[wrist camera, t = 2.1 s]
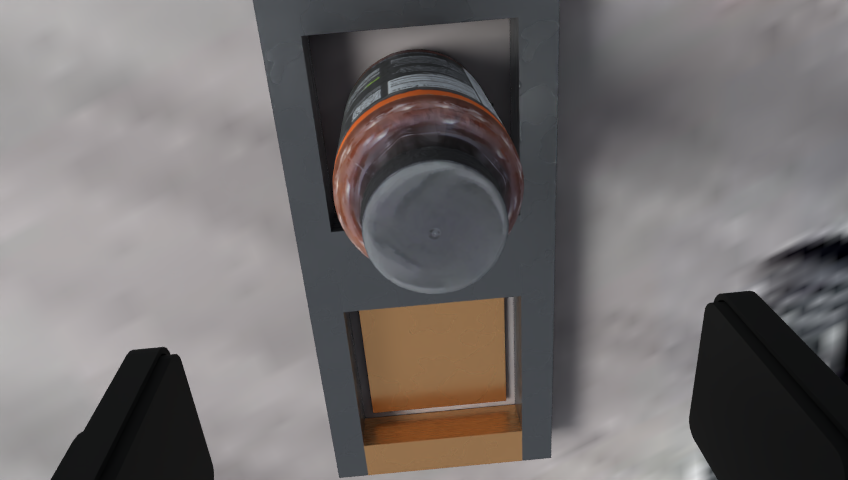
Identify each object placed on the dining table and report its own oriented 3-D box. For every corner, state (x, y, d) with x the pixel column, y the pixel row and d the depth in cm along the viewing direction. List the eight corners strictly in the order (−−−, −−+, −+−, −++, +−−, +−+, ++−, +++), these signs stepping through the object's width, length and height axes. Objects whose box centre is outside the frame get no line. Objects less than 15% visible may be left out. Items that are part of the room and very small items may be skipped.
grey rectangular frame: (547, -49, 25) (560, -46, 23) (542, 430, 36) (550, 457, 34) (259, -25, 25) (249, -20, 23) (341, 449, 35) (339, 477, 34)
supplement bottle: (456, 200, 29) (494, 351, 19) (327, 159, 28) (295, 297, 18) (508, 73, 27) (582, 169, 17) (370, 23, 26) (360, 94, 16)
